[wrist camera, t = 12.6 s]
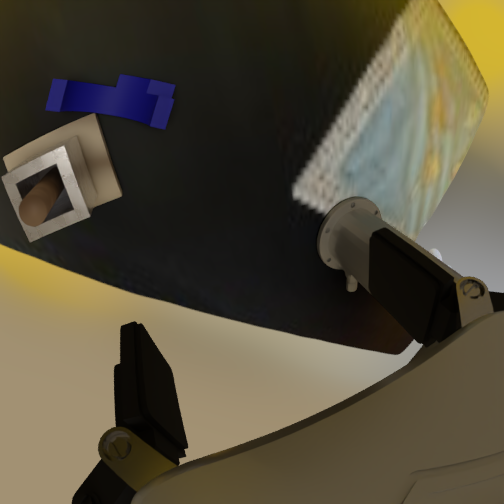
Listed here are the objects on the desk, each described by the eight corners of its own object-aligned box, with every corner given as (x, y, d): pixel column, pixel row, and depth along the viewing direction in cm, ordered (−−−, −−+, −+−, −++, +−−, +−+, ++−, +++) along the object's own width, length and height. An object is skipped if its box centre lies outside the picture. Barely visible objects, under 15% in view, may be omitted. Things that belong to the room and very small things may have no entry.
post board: (122, 191, 33) (118, 238, 23) (38, 227, 31) (8, 283, 21) (96, 111, 27) (75, 122, 18) (7, 154, 25) (-41, 187, 15)
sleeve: (97, 195, 30) (90, 216, 25) (44, 217, 28) (30, 242, 23) (76, 135, 26) (64, 145, 21) (21, 161, 24) (1, 177, 20)
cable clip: (172, 85, 29) (179, 84, 24) (160, 123, 31) (165, 129, 26) (71, 67, 24) (57, 63, 19) (60, 106, 26) (45, 110, 21)
